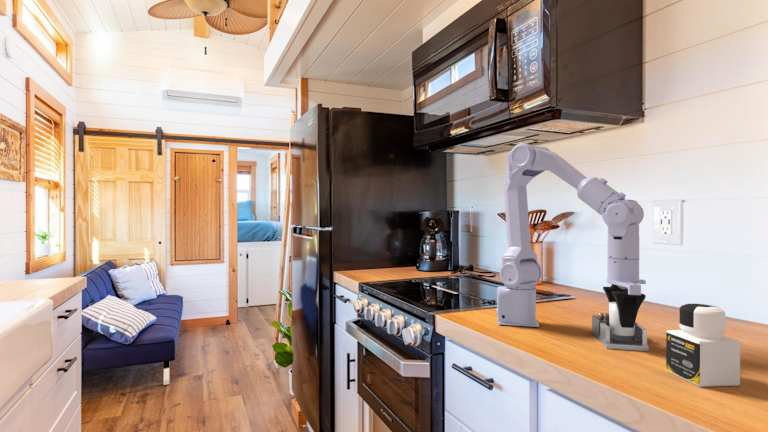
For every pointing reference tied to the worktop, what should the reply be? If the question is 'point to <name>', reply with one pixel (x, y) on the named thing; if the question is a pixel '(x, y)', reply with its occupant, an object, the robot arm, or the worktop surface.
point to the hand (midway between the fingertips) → (623, 324)
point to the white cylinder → (618, 322)
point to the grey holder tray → (616, 341)
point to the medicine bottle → (703, 348)
